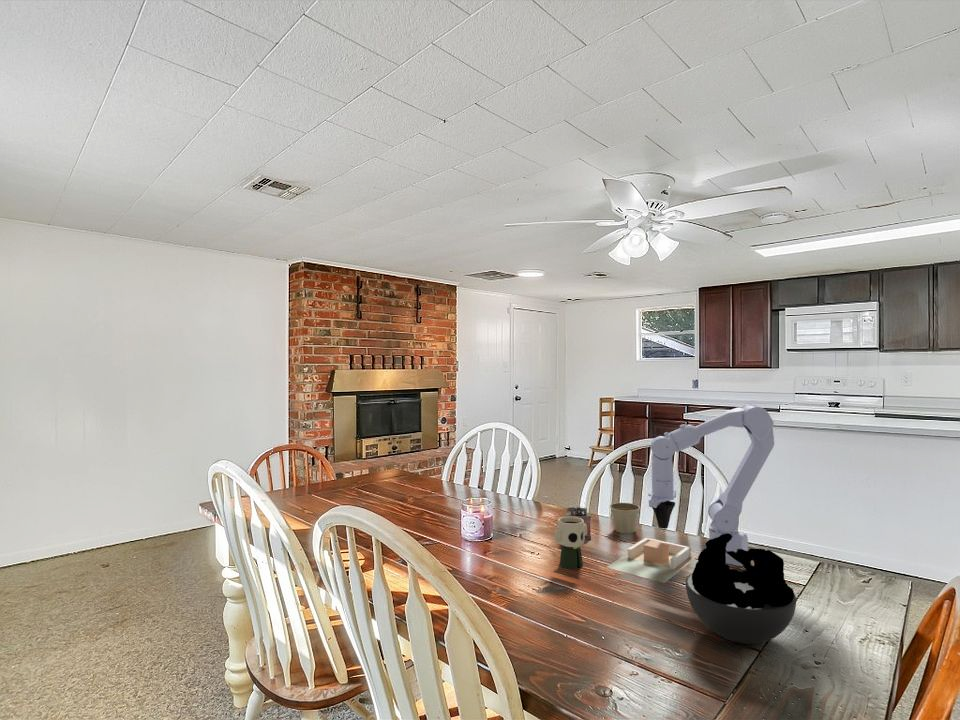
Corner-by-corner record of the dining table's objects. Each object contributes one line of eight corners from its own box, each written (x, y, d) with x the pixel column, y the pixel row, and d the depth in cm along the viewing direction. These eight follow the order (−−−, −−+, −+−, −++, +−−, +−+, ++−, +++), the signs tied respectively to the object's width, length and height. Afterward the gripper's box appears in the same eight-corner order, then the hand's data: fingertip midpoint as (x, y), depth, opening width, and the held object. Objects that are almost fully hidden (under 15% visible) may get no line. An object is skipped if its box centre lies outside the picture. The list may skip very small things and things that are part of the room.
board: (696, 561, 149) (696, 557, 149) (664, 587, 133) (664, 582, 133) (641, 548, 160) (641, 545, 160) (605, 571, 143) (605, 567, 143)
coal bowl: (796, 677, 95) (794, 570, 95) (676, 647, 105) (675, 550, 105) (798, 628, 112) (796, 537, 112) (695, 606, 122) (694, 523, 122)
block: (668, 558, 149) (668, 544, 149) (661, 563, 145) (661, 549, 145) (651, 554, 152) (651, 540, 152) (643, 559, 148) (643, 545, 148)
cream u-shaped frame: (690, 556, 150) (690, 547, 150) (674, 569, 141) (674, 559, 141) (646, 546, 159) (645, 537, 159) (627, 557, 150) (627, 548, 150)
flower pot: (633, 540, 167) (633, 512, 167) (605, 534, 173) (604, 507, 173) (644, 532, 175) (644, 505, 175) (617, 527, 181) (616, 501, 181)
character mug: (563, 577, 140) (562, 526, 140) (547, 568, 146) (546, 519, 146) (595, 568, 145) (595, 520, 145) (578, 560, 151) (577, 513, 151)
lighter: (590, 537, 171) (590, 505, 171) (591, 540, 167) (591, 508, 167) (564, 536, 171) (564, 505, 171) (565, 540, 168) (564, 508, 168)
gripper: (659, 473, 161) (659, 519, 161) (637, 482, 150) (638, 531, 150) (683, 476, 156) (683, 523, 156) (662, 485, 145) (663, 536, 145)
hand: (663, 527), depth 152 cm, fingers closed
